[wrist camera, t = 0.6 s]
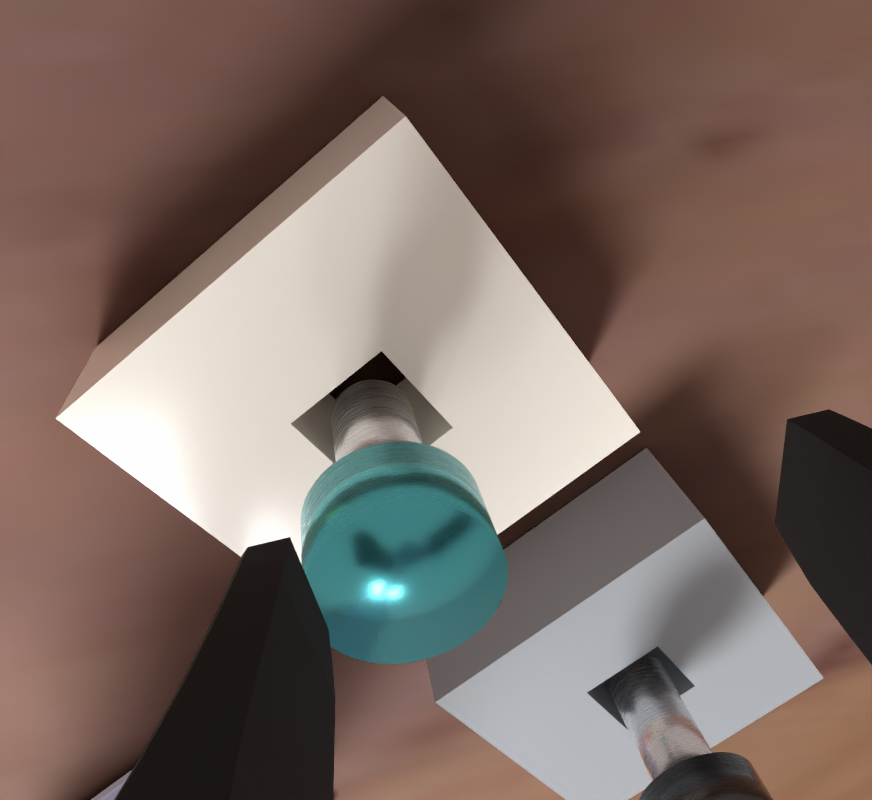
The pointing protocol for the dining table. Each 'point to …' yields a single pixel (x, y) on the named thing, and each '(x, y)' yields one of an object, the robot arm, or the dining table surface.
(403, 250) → the cream block
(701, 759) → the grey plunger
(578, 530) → the grey block
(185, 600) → the dining table surface
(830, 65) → the dining table surface
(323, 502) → the teal round knob
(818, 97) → the dining table surface
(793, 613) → the dining table surface
